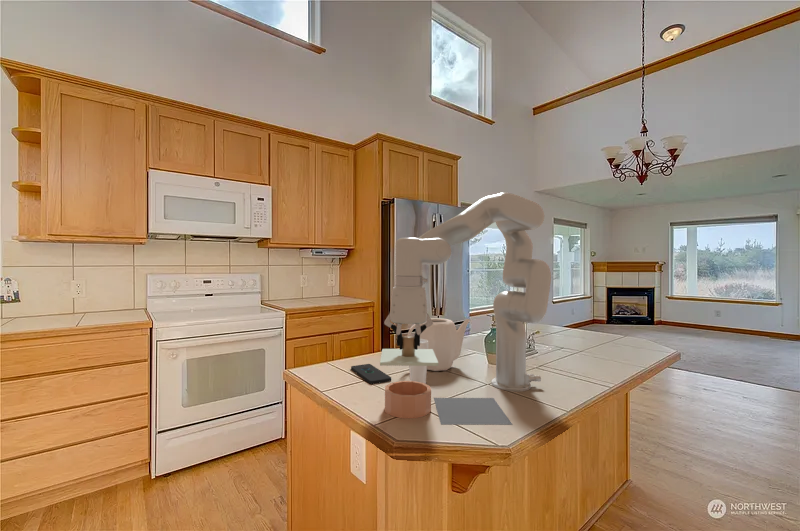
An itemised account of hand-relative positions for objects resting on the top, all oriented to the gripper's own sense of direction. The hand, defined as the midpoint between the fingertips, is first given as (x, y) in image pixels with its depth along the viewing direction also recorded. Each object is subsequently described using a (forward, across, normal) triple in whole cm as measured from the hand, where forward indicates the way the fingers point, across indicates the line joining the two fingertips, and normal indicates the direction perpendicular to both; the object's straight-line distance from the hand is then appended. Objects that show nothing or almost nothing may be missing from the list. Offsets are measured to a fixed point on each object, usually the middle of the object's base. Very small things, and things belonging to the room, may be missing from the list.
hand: (408, 347), depth 99 cm
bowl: (+17, 0, 0) cm, 17 cm away
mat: (+17, -17, +1) cm, 24 cm away
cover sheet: (+3, 0, 0) cm, 3 cm away
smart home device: (+18, +13, -32) cm, 39 cm away
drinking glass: (+17, -4, -20) cm, 27 cm away
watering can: (+17, -14, -41) cm, 47 cm away
